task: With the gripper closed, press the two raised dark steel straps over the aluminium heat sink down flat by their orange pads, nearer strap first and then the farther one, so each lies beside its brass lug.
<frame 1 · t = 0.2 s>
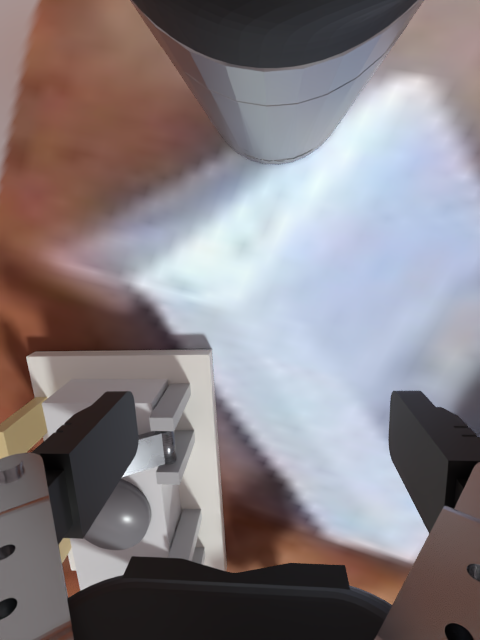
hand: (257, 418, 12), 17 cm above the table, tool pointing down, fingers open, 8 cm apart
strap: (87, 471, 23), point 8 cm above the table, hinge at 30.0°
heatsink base: (137, 465, 33), on the table
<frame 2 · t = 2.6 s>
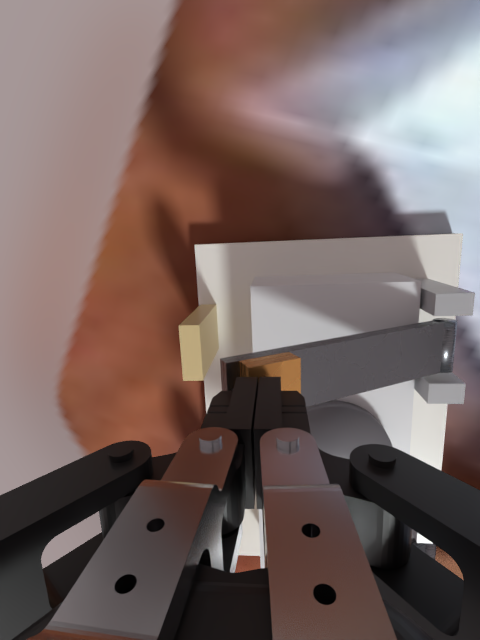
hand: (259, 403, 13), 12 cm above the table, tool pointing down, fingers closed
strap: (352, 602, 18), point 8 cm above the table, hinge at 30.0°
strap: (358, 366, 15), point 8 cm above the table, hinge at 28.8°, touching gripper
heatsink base: (320, 407, 25), on the table
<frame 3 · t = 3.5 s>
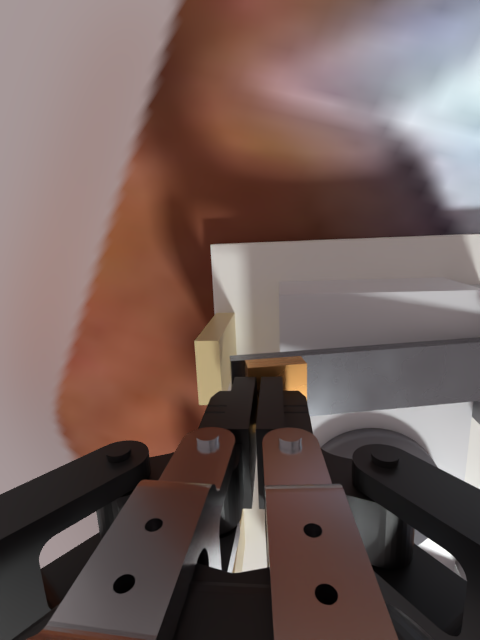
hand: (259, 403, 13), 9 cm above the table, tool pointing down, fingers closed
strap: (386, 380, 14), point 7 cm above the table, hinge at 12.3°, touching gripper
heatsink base: (349, 428, 22), on the table
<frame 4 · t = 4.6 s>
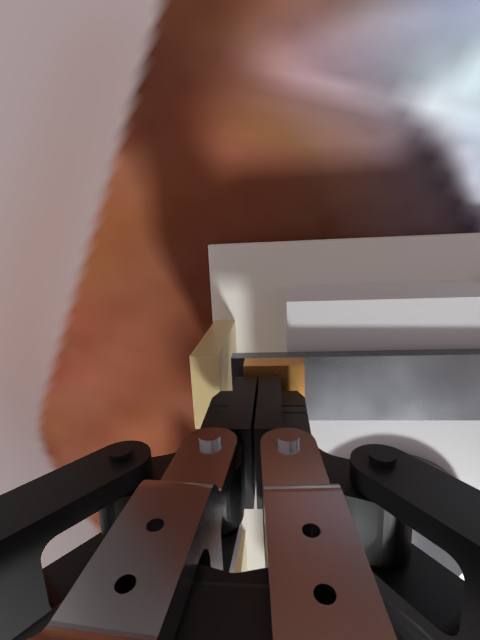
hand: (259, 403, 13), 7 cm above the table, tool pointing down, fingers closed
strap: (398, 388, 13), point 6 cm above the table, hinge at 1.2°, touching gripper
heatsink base: (362, 446, 20), on the table
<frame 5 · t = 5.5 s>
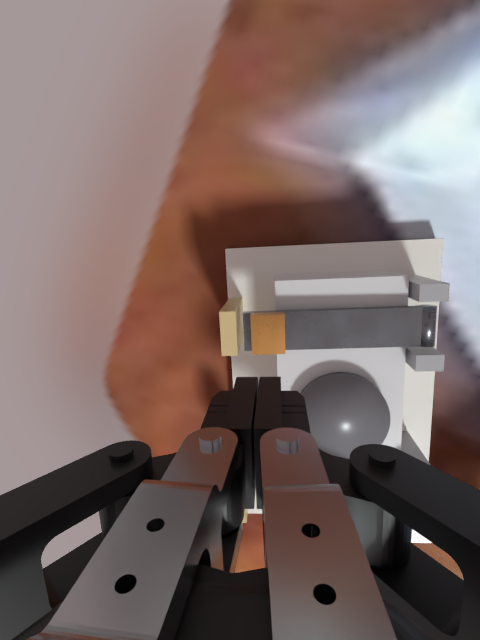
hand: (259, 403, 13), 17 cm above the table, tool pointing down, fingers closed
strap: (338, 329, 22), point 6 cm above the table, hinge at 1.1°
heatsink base: (328, 384, 29), on the table
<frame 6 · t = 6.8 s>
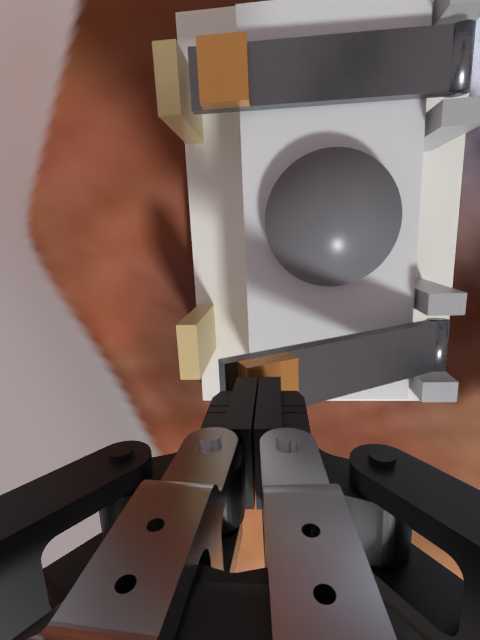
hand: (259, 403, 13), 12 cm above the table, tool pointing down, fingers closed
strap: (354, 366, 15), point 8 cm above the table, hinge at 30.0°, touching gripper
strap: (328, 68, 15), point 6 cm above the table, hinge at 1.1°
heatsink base: (317, 222, 22), on the table
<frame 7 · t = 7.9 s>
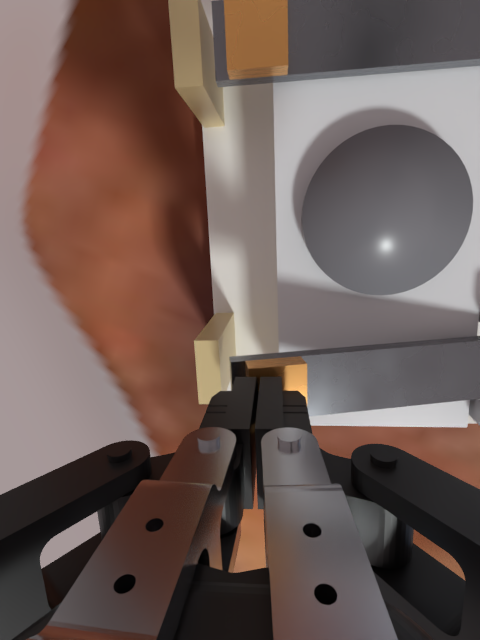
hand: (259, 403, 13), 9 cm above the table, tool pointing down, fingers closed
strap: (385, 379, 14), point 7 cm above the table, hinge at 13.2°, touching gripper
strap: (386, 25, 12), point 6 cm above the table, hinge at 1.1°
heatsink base: (354, 219, 19), on the table
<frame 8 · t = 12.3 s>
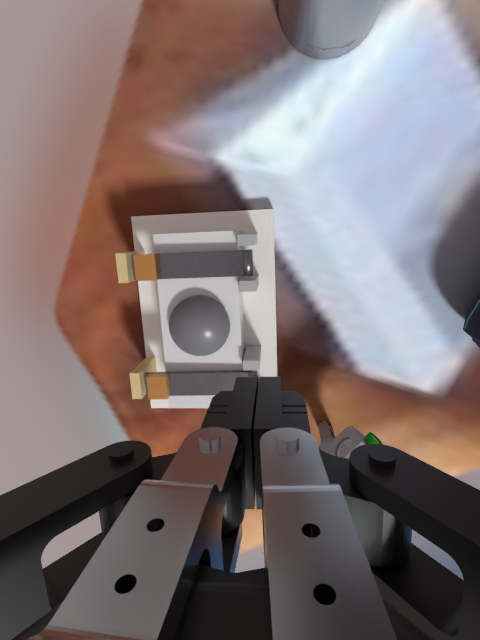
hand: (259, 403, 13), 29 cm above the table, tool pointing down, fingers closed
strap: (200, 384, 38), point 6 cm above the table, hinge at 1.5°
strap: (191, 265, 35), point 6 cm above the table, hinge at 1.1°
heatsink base: (209, 313, 42), on the table
mechanical component: (325, 426, 44), on the table
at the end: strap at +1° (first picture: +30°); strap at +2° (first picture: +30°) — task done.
